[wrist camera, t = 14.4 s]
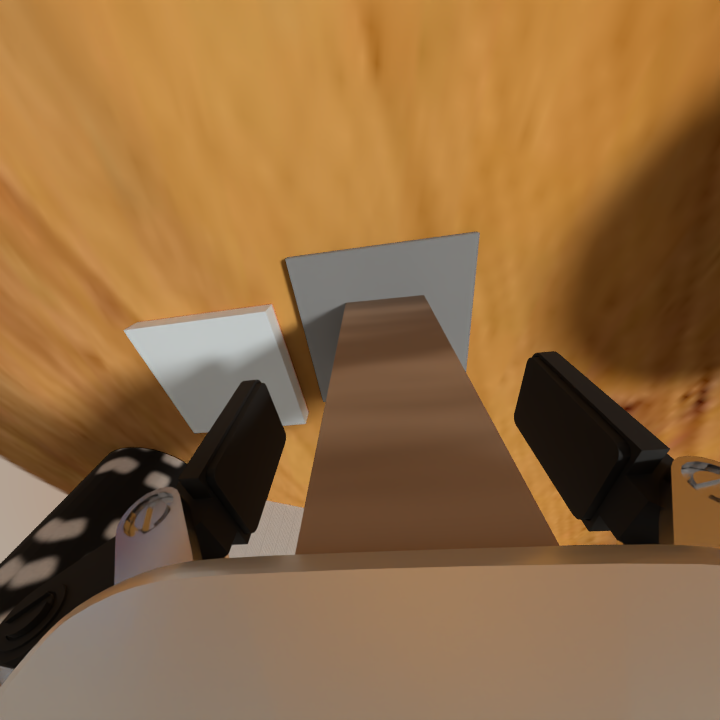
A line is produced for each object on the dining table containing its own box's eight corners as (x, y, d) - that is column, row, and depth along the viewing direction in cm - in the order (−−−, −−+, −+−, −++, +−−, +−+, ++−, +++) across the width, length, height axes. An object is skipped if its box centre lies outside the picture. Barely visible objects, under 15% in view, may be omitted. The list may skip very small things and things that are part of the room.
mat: (287, 257, 13) (285, 259, 13) (476, 231, 12) (479, 232, 12) (324, 397, 18) (323, 401, 17) (462, 386, 17) (464, 390, 17)
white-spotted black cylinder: (92, 479, 24) (-611, 1211, 7) (121, 431, 20) (-1169, 1688, 3) (183, 515, 26) (-146, 1090, 10) (222, 478, 23) (-182, 1274, 6)
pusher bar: (345, 302, 14) (284, 610, 4) (424, 294, 13) (594, 609, 3) (355, 366, 16) (332, 674, 6) (422, 361, 16) (524, 677, 5)
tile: (123, 330, 14) (194, 433, 18) (265, 311, 13) (305, 423, 18) (144, 318, 16) (206, 416, 20) (274, 300, 15) (310, 407, 19)
